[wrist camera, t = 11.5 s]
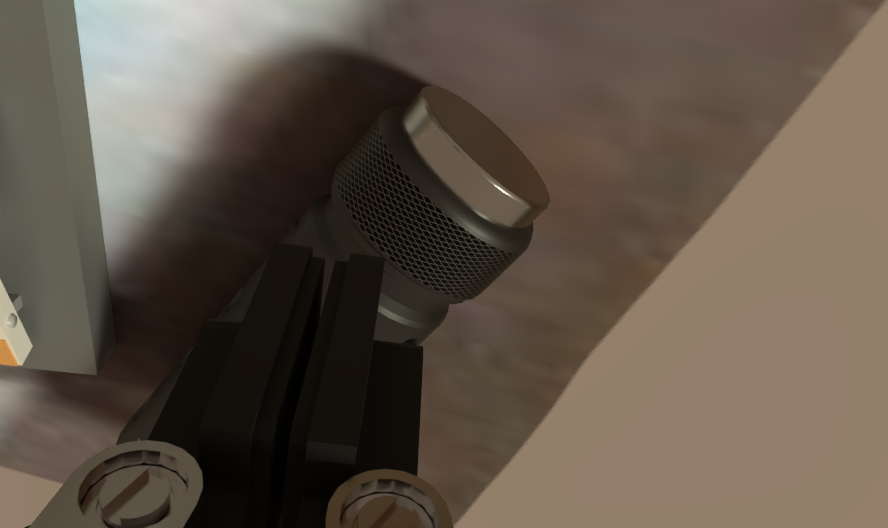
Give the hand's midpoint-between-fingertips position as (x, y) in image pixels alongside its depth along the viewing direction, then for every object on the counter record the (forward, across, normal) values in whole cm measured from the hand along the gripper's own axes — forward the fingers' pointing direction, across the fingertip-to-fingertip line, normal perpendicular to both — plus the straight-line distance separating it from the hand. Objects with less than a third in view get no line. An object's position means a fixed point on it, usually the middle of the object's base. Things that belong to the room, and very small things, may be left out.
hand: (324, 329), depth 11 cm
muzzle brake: (+28, +2, +17) cm, 33 cm away
